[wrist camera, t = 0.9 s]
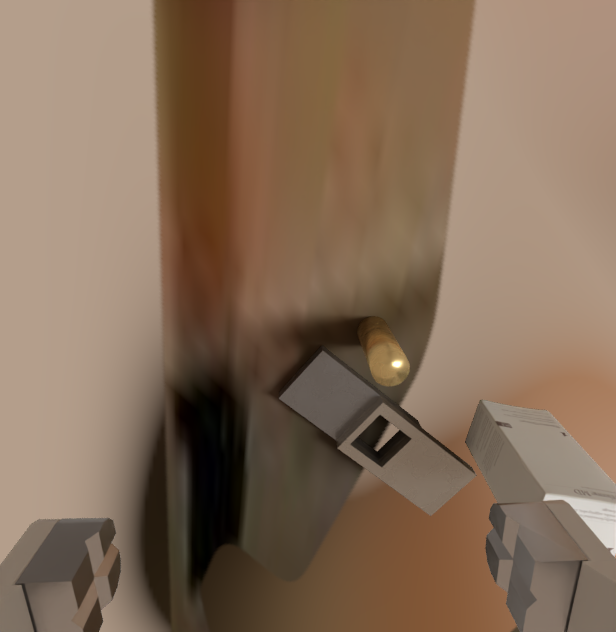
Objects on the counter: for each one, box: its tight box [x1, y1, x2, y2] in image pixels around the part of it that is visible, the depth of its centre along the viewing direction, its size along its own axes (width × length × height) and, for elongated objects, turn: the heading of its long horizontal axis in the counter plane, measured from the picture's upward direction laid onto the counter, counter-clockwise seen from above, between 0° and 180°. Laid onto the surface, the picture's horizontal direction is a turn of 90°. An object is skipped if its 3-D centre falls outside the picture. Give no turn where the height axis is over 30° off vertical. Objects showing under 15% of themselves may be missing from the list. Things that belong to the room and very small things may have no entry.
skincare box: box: [465, 400, 616, 556], centre depth 43 cm, size 8×6×15 cm
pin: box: [357, 316, 410, 386], centre depth 41 cm, size 3×3×9 cm
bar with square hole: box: [279, 346, 476, 516], centre depth 48 cm, size 7×22×3 cm, turn 50°
